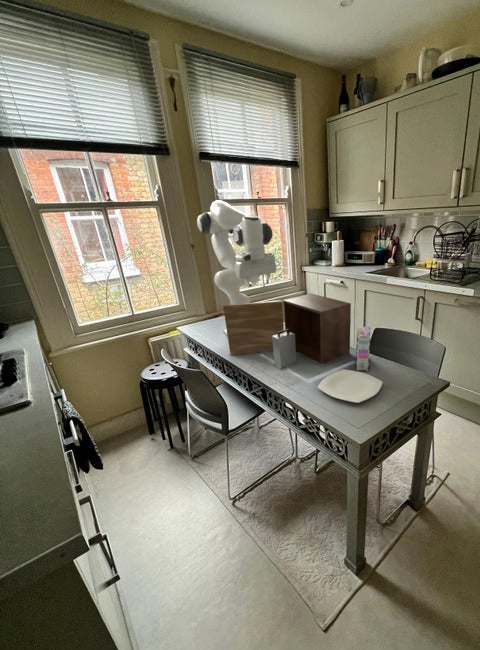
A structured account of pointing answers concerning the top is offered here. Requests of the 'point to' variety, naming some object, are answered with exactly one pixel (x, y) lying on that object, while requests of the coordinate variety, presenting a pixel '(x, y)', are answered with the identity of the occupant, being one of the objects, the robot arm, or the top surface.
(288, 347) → the grey box with handle
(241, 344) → the cupboard door
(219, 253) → the robot arm
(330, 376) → the plate
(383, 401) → the top surface
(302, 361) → the top surface
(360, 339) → the candy box
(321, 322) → the cupboard
